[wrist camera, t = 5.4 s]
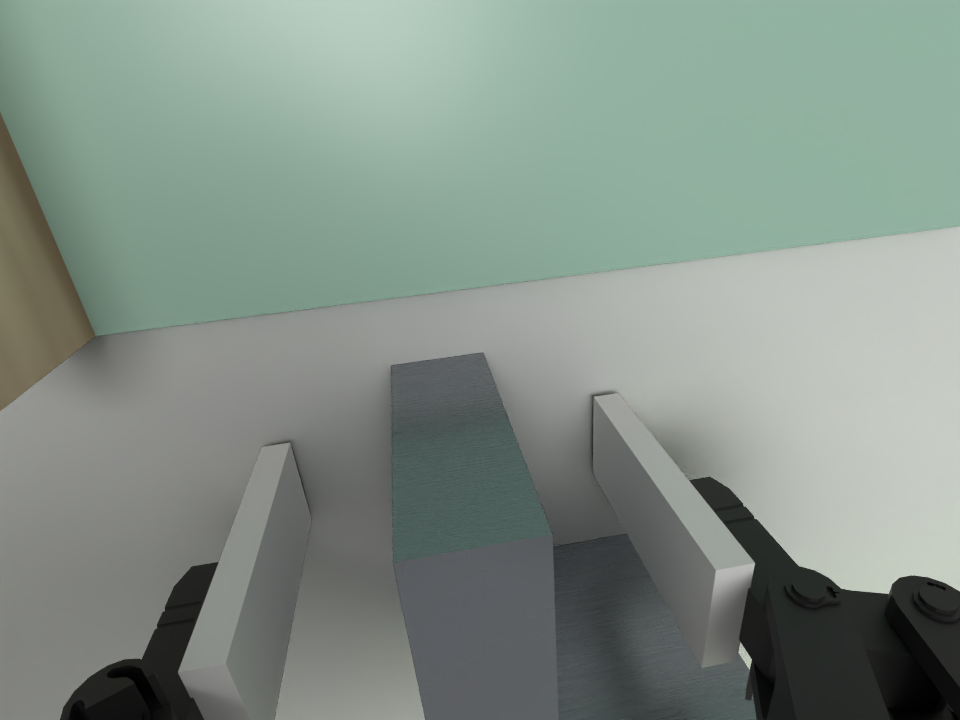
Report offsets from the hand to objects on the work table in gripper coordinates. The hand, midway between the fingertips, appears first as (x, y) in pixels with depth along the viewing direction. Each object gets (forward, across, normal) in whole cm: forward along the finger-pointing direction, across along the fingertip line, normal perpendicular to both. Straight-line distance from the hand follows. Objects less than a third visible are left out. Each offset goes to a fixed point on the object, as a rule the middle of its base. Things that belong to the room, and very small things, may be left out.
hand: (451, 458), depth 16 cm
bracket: (0, +3, -2) cm, 3 cm away
